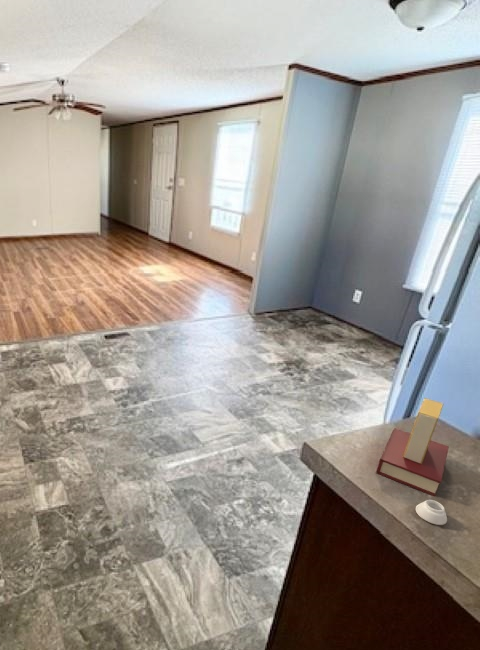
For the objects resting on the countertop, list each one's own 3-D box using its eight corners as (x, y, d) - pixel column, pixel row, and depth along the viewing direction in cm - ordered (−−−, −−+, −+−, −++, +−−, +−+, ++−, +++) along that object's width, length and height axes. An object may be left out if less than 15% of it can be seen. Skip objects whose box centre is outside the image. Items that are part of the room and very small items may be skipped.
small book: (427, 447, 98) (443, 403, 94) (421, 464, 93) (438, 418, 88) (409, 441, 101) (424, 397, 96) (402, 457, 95) (418, 412, 91)
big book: (389, 440, 107) (393, 427, 106) (443, 460, 100) (449, 446, 99) (375, 472, 96) (380, 458, 95) (435, 496, 90) (441, 481, 88)
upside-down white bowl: (435, 529, 82) (451, 521, 83) (440, 518, 80) (456, 510, 82) (409, 511, 86) (424, 504, 88) (413, 499, 85) (429, 493, 86)
